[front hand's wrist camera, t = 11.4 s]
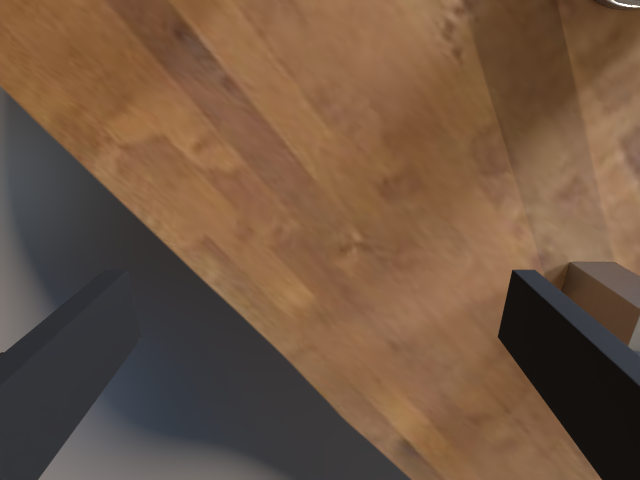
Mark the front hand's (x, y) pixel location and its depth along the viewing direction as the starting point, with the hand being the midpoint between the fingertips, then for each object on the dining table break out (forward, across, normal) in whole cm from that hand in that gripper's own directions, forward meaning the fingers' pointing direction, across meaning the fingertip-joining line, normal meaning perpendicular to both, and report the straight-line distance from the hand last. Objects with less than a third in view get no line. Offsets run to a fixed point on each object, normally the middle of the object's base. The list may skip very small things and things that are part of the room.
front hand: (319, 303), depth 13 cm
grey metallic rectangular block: (+33, +36, -18) cm, 52 cm away
